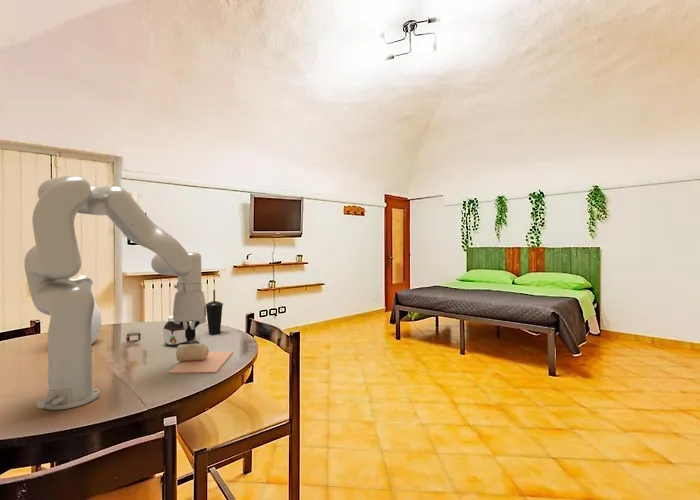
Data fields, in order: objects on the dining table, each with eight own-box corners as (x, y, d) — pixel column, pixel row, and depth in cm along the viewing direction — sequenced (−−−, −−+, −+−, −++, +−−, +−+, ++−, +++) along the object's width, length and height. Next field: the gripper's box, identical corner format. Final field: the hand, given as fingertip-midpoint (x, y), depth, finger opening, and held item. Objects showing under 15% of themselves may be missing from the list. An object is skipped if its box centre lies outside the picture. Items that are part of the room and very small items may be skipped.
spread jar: (160, 345, 155) (160, 317, 155) (181, 338, 166) (180, 312, 166) (184, 348, 151) (184, 319, 151) (203, 341, 162) (203, 314, 162)
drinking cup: (204, 332, 177) (204, 289, 176) (222, 330, 180) (221, 288, 180) (206, 336, 170) (205, 291, 169) (224, 334, 173) (223, 290, 173)
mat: (216, 373, 124) (216, 371, 124) (169, 374, 123) (168, 372, 123) (233, 352, 146) (233, 351, 146) (192, 353, 145) (192, 351, 145)
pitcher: (96, 348, 151) (95, 278, 150) (43, 353, 145) (42, 279, 144) (109, 334, 173) (108, 272, 173) (64, 337, 167) (63, 274, 166)
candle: (174, 358, 131) (205, 357, 132) (177, 342, 134) (207, 341, 135) (179, 362, 136) (208, 361, 137) (182, 347, 139) (210, 346, 140)
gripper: (163, 289, 129) (164, 343, 130) (208, 289, 130) (208, 342, 131) (172, 286, 137) (172, 337, 138) (214, 286, 138) (215, 337, 138)
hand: (190, 339), depth 134 cm, fingers closed
